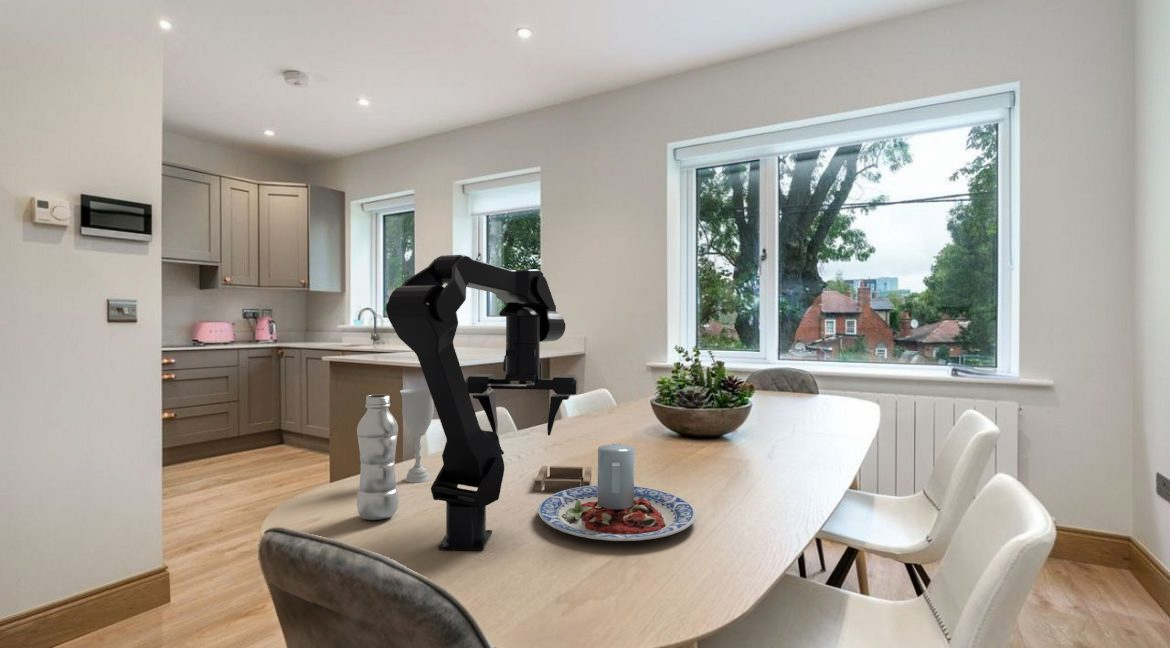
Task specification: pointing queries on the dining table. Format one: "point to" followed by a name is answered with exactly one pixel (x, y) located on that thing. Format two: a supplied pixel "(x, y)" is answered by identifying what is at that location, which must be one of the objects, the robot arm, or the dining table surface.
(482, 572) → the dining table surface
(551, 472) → the jug holder
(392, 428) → the plastic bottle
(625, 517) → the ceramic plate
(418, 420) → the chalice
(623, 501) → the jug
